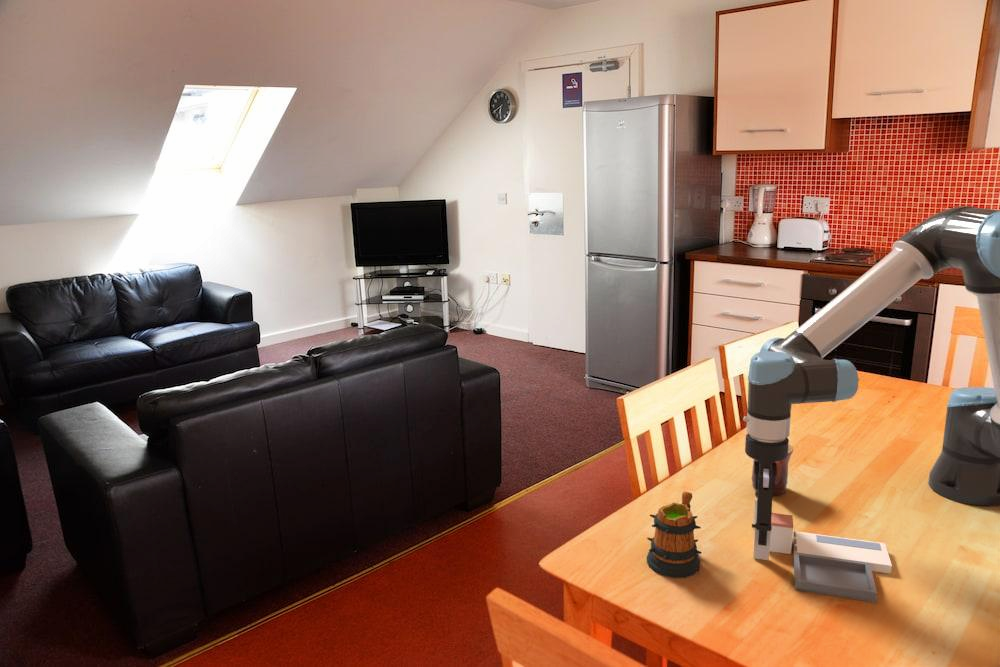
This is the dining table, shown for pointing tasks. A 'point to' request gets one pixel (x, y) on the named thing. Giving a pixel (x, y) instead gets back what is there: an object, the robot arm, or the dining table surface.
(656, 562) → the mug
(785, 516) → the block
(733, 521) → the dining table surface
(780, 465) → the mug
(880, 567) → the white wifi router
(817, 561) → the tray
